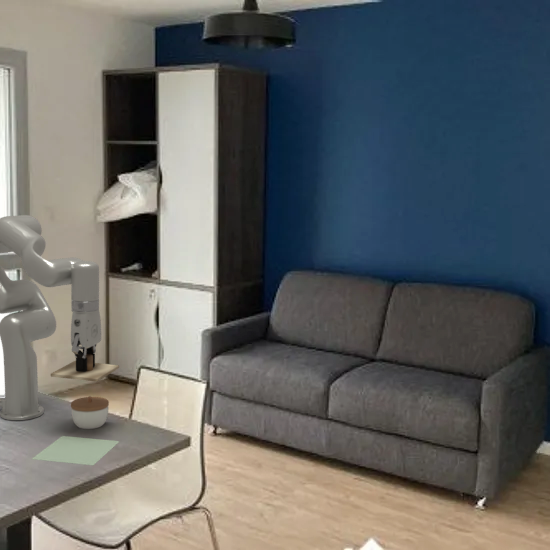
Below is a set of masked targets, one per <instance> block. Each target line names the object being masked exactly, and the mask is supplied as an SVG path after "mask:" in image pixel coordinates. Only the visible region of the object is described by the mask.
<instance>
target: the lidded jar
mask: <svg viewBox="0 0 550 550" xmlns="http://www.w3.org/2000/svg"><path fill="white" fill-rule="evenodd" d="M109 403H110V401H109V400H108V399H107V398H105V397H101V396H91V395H89V396H84V397H79V398H76V399H74V400H72V401H71V402H70V408H71V409H70V410H71V411H70V412H71V418H72V421H73V424H75V426H76V427H78V428H79V429H82V430H83V429H84V430H92V429H93V430H94V429H98V428H101V427H103V426H104V425H105V423H106V421H107V419H108V417H109Z"/></svg>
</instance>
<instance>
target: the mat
mask: <svg viewBox="0 0 550 550" xmlns="http://www.w3.org/2000/svg"><path fill="white" fill-rule="evenodd" d="M119 443H120V441H118V440H111V439H99V438H89V437H87V438H86V437H76V436H66V435H61V436H60V437H59V438H58V439H56V440H55V441H53V442H52V443H50V444H49V445H48V446H47V447H45V448H44V449H42V450H41V451H40V452H38V453H37V454H36V455H35V456H34V457H32V458H31V460H34V461H35V460H37V461H47V462H54V463H55V462H56V463H66V464H74V465H75V464H76V465H84V466H85V465H86V466H95V465H96V463H98V462H99V461H100V460H101V459H102V458H103V457H104V456H105V455H107V453H109V452H110V451H111V450H112V449H113V448H114V447H115V446H117V445H118V444H119Z"/></svg>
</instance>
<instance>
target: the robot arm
mask: <svg viewBox="0 0 550 550" xmlns="http://www.w3.org/2000/svg"><path fill="white" fill-rule="evenodd" d="M42 231H43V230H42V225H41V223H40V221H39V220H38V219H37V218H36V217H34V216H32V215H29V214H21V215H20V214H19V215H7V216H3V217H0V254H7V253H14V254H15V255H17V256H18V257H19V258H20V261H21V266H22V268H23V270H24V273H25V274H26V275H27V276H28V277H29V278H30V279H31V280H30V279H16V280H13V279H10V278H9V276H8V274H7V273H6V271H5V269H4V268H3V267H2V265H0V314H2V315H3V314H4V317H3V318H2V319H1V320H0V340H1V341H0V342H1V346H2V354H3V371H4V398H1V397H0V408H1V410H0V417H1V418H2V419H4V420H8V421H28V420H31V419H35V418H38V417H40V416H42V415H43V414H44V412H45V410H44V407H43V406H42V405H40V404H39V385H38V383H39V382H38V358H37V357H38V356H37V354H36V353H37V352H36V351H35V349H34V348H33V347H32V345H31V342H34V341H38V340H43V339H47V338H49V337H51V336H52V335H54V334H55V331H56V329H57V319H56V317H55V314H54V312H53V310H52V309H51V307H50V305H49V303H48V301H47V300H46V297H45V296H44V295H43V292H42V291H41V289H40V288H39V286H43V287H45V288H55V287H61V286H69V285H71V287H70V288H71V289H70V291H71V293H70V295H71V302H70V303H71V313H72V314H71V324H70V344H71V352H72V353H73V354H74V358H75V361H76V371H80V372H86V371H87V358H86V354H91V355H93V367H95V363H96V347H97V344H99V343H100V342H101V340H102V323H101V313H100V266H99V264H98V263H97V262H95V261H91V260H89V261H88V260H83V259H81V258H78V257H65V258H55V259H49V260H48V259H46V258H44V257H42V255H43V254H44V252H45V251H46V244H47V243H46V241H45V238H44V237H43V236H42V233H43V232H42ZM32 280H33V281H34V282H33V281H32ZM36 283H37V284H39V286H38V285H37V284H36ZM5 314H7V315H6V316H5Z"/></svg>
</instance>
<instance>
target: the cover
mask: <svg viewBox="0 0 550 550" xmlns="http://www.w3.org/2000/svg"><path fill="white" fill-rule="evenodd" d="M86 358H87V371H86V372H80V371H76V360H73V361H71V362H69V363H68V364H66V365H63V366H62V367H60V368H59V369H57V370H55V371H53V372H51V373H50V377H51V378H52V377H53V378H60V379H61V378H62V379H70V380H78V381H86V382H96V383H97V382H99V381H100V380H102V379H104V378H106V377H108V376H109V375H110V374H112V373H113V372H116V371H117V370H119V368H120V365H118V364H109V363H101V362H95V367H93V355H91V354H86Z"/></svg>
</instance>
